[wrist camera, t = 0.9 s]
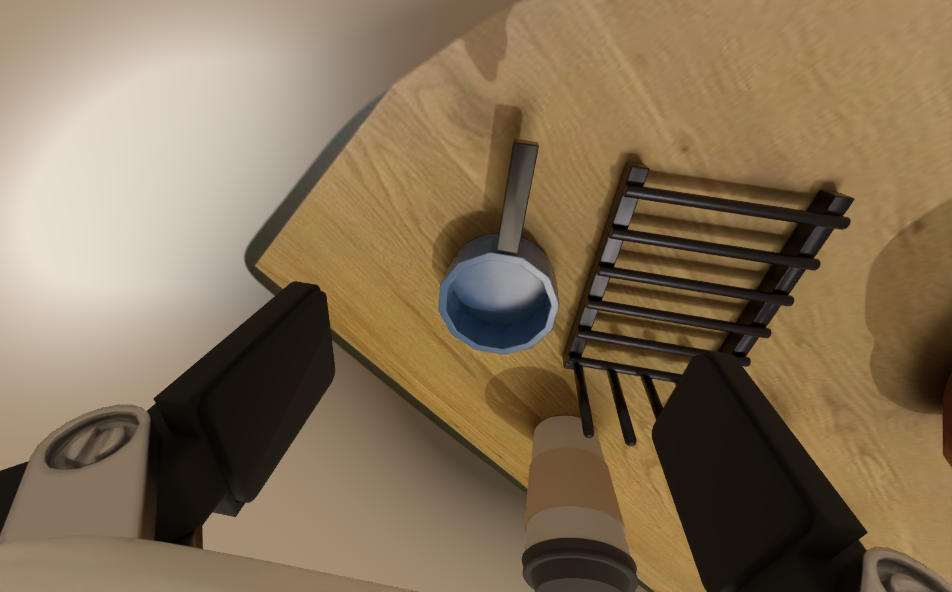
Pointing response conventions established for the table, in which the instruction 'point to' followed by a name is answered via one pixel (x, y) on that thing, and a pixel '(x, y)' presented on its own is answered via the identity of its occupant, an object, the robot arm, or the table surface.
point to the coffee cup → (573, 515)
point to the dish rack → (691, 284)
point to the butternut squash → (947, 421)
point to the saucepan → (502, 276)
